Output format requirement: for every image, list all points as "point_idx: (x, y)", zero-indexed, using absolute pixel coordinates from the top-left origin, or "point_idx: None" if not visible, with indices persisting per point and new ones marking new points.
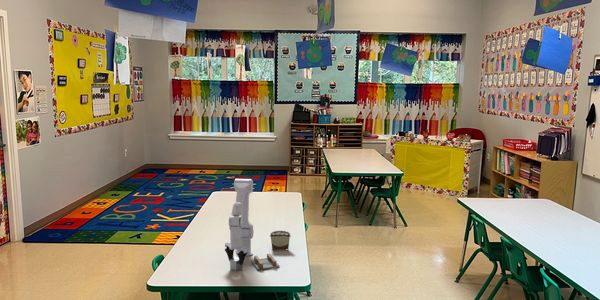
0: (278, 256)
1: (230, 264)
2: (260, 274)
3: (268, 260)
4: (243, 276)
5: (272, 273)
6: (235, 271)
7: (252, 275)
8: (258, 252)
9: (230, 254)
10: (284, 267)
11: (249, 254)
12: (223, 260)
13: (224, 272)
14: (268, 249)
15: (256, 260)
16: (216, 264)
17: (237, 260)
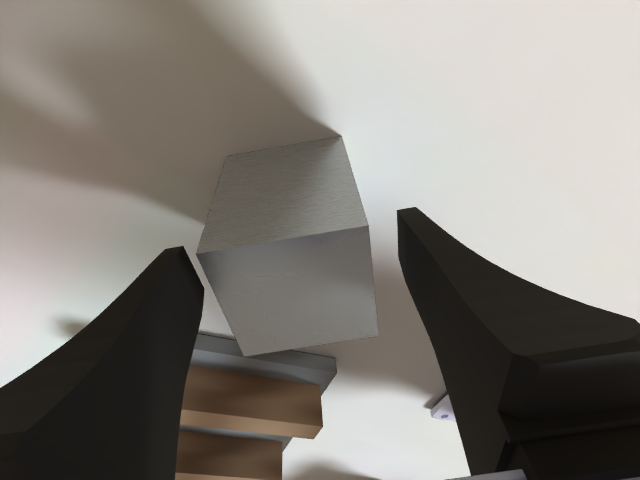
0: (282, 472)
1: (345, 174)
2: (29, 301)
3: (241, 435)
4: (44, 150)
5: (13, 368)
6: (241, 155)
7: (33, 239)
8: (429, 438)
9: (441, 310)
10: None
11: (448, 403)
12: (600, 219)
13: (326, 12)
14: (410, 474)
15: (247, 402)
16: (624, 91)
17: (216, 283)
